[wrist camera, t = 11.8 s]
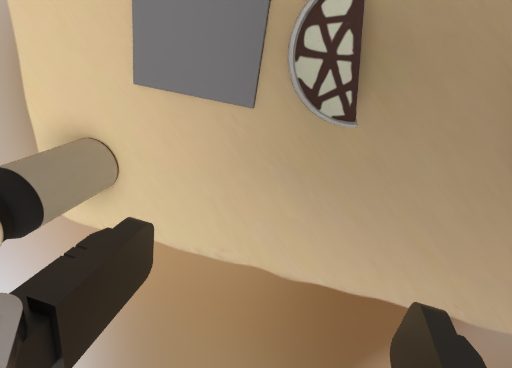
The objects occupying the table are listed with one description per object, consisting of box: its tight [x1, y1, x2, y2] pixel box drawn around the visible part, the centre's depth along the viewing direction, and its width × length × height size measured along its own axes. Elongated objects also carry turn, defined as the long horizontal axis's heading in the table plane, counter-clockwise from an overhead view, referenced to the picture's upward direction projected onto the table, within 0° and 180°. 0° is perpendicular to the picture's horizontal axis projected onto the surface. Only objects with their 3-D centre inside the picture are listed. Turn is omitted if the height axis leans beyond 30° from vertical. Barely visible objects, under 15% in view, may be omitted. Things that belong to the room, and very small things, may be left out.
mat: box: [132, 0, 270, 108], centre depth 34 cm, size 16×16×1 cm
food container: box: [288, 0, 364, 128], centre depth 29 cm, size 12×6×10 cm, turn 3°
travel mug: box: [0, 138, 118, 246], centre depth 37 cm, size 8×8×18 cm
